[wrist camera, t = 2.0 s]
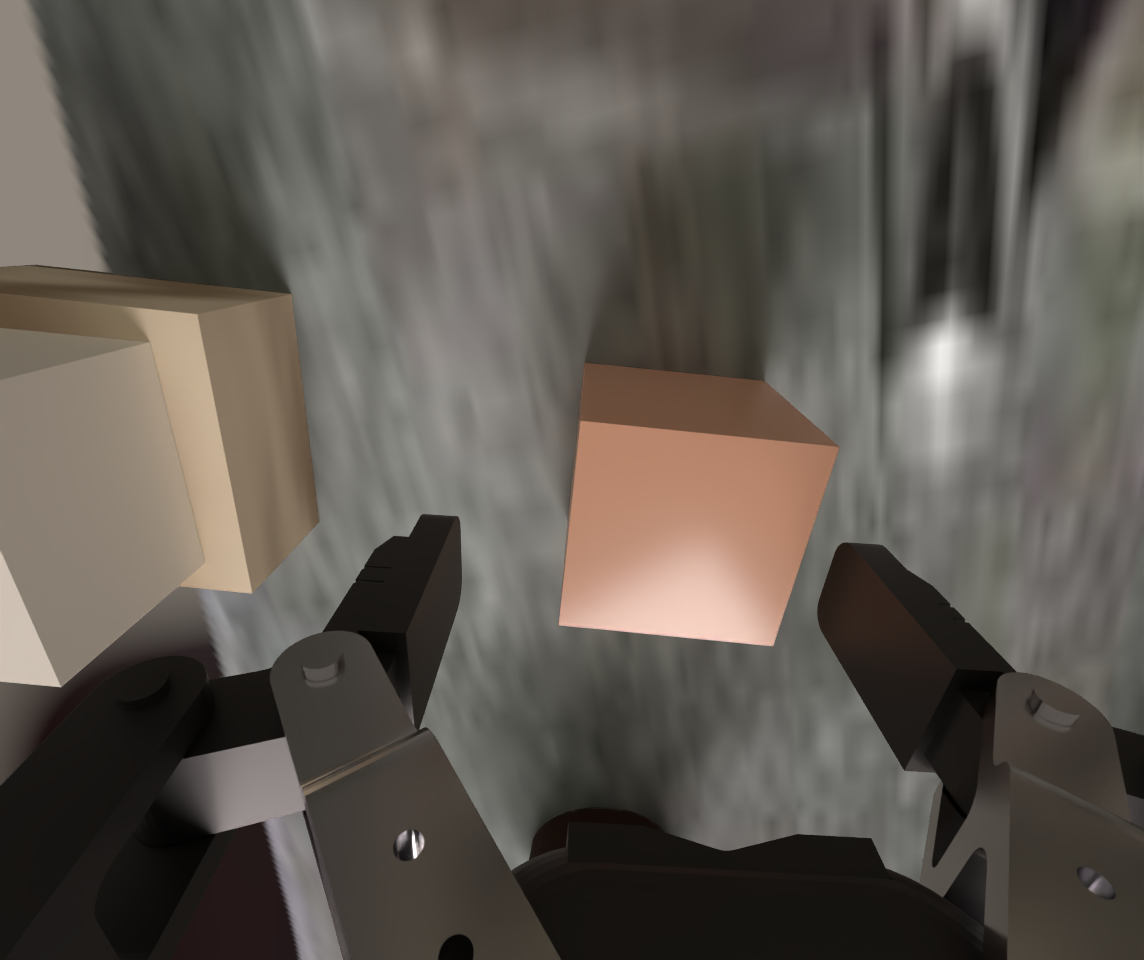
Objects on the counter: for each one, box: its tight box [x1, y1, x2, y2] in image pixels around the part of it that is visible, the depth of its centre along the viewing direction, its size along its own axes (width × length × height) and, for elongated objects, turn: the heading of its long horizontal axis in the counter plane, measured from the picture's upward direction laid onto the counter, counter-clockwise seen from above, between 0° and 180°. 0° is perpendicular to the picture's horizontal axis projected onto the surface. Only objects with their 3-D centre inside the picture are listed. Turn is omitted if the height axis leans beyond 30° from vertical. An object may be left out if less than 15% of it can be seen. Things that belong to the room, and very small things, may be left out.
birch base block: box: [0, 265, 319, 593], centre depth 14 cm, size 7×7×4 cm
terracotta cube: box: [559, 363, 839, 646], centre depth 13 cm, size 5×5×5 cm
